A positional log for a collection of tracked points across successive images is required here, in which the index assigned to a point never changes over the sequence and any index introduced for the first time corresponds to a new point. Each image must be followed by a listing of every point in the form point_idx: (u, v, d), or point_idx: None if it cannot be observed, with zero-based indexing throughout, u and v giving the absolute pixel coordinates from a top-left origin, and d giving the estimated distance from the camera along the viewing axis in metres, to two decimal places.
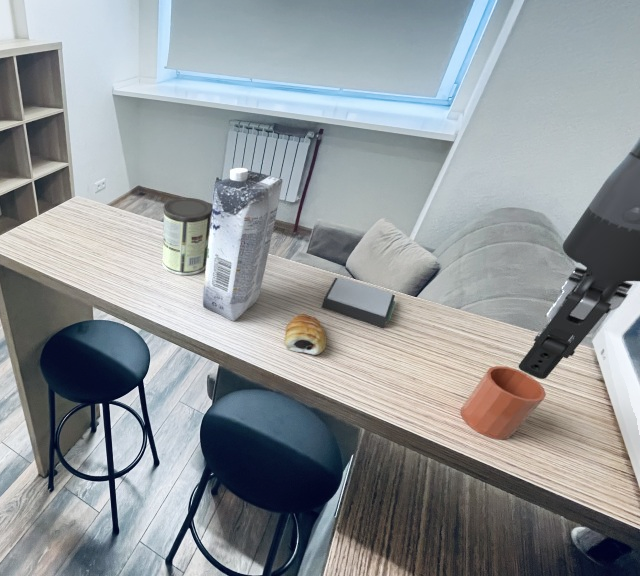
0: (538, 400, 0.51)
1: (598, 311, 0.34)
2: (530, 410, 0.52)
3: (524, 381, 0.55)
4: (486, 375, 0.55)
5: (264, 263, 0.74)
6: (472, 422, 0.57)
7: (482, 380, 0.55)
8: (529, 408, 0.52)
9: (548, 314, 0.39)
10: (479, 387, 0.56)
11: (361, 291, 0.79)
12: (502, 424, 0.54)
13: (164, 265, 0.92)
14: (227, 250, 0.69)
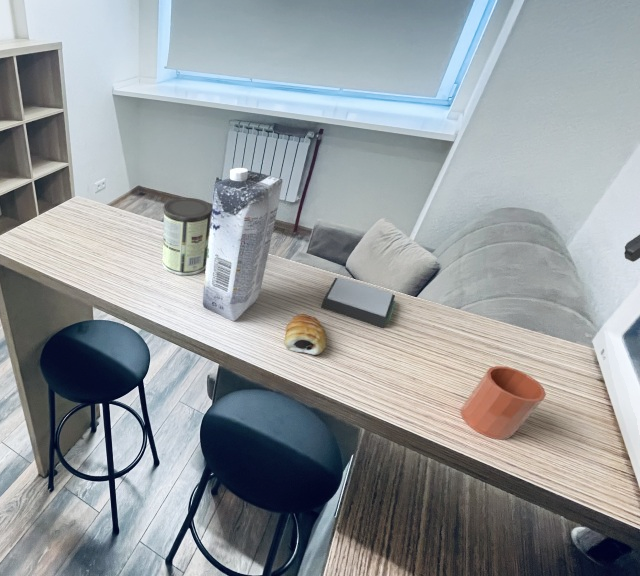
0: (538, 400, 0.51)
1: None
2: (530, 410, 0.52)
3: (524, 381, 0.55)
4: (486, 375, 0.55)
5: (264, 263, 0.74)
6: (472, 422, 0.57)
7: (482, 380, 0.55)
8: (529, 408, 0.52)
9: None
10: (479, 387, 0.56)
11: (361, 291, 0.79)
12: (502, 424, 0.54)
13: (164, 265, 0.92)
14: (227, 250, 0.69)
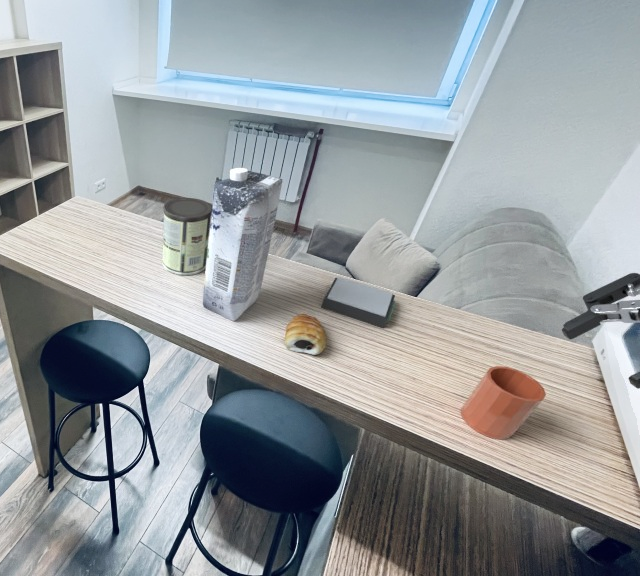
0: (538, 400, 0.51)
1: None
2: (530, 410, 0.52)
3: (524, 381, 0.55)
4: (486, 375, 0.55)
5: (264, 263, 0.74)
6: (472, 422, 0.57)
7: (482, 380, 0.55)
8: (529, 408, 0.52)
9: None
10: (479, 387, 0.56)
11: (361, 291, 0.79)
12: (502, 424, 0.54)
13: (164, 265, 0.92)
14: (227, 250, 0.69)
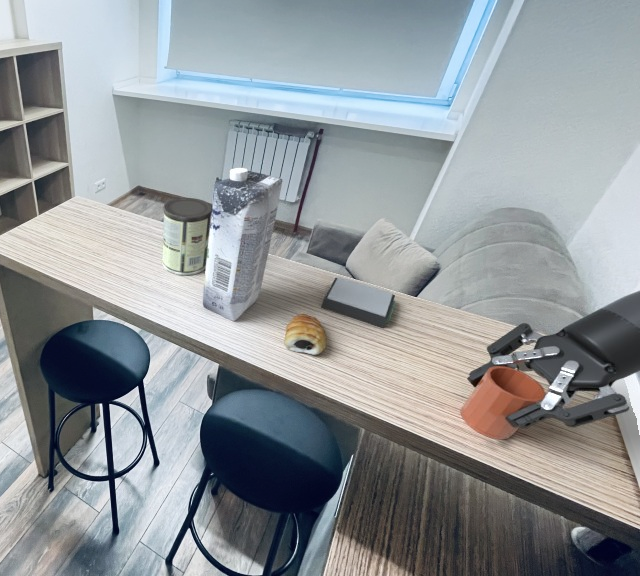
0: (538, 400, 0.51)
1: None
2: None
3: (524, 381, 0.55)
4: (486, 375, 0.55)
5: (264, 263, 0.74)
6: (472, 422, 0.57)
7: (482, 380, 0.55)
8: None
9: None
10: (479, 387, 0.56)
11: (361, 291, 0.79)
12: (502, 424, 0.54)
13: (164, 265, 0.92)
14: (227, 250, 0.69)
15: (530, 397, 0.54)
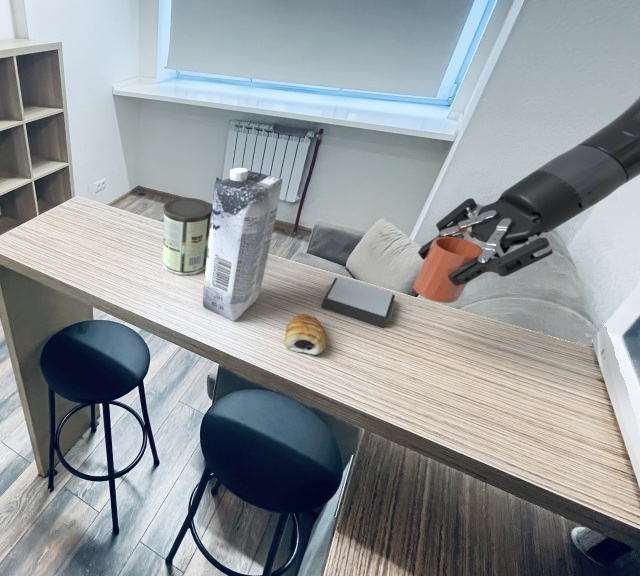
0: (476, 256, 0.56)
1: None
2: None
3: (467, 248, 0.60)
4: (432, 242, 0.60)
5: (264, 263, 0.74)
6: (421, 290, 0.62)
7: (430, 249, 0.61)
8: None
9: None
10: (427, 255, 0.61)
11: (361, 291, 0.79)
12: (446, 285, 0.59)
13: (164, 265, 0.92)
14: (227, 250, 0.69)
15: None
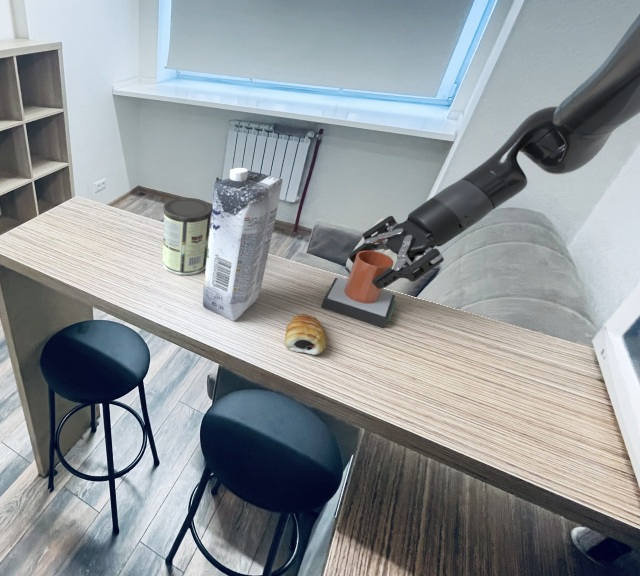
0: (386, 267, 0.72)
1: None
2: None
3: (383, 259, 0.75)
4: (356, 255, 0.75)
5: (264, 263, 0.74)
6: (349, 293, 0.77)
7: (354, 260, 0.76)
8: None
9: None
10: None
11: None
12: (366, 289, 0.75)
13: (164, 265, 0.92)
14: (227, 250, 0.69)
15: None
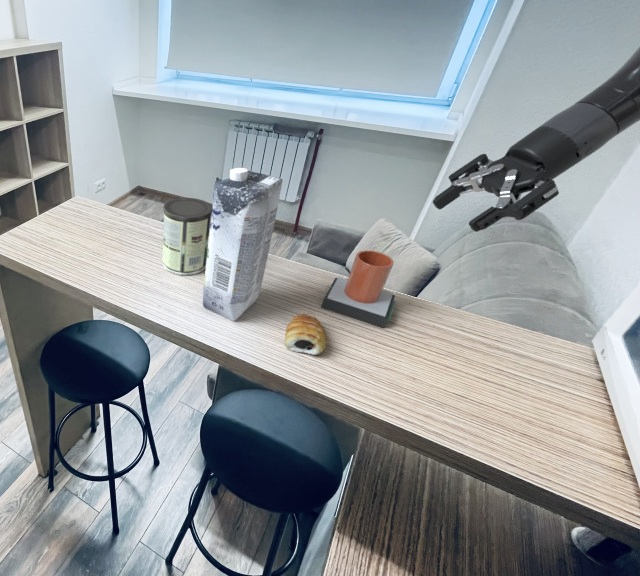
0: (386, 267, 0.72)
1: None
2: (382, 276, 0.73)
3: (383, 259, 0.75)
4: (356, 255, 0.75)
5: (264, 263, 0.74)
6: (349, 293, 0.77)
7: (354, 260, 0.76)
8: (381, 274, 0.72)
9: None
10: None
11: None
12: (366, 289, 0.75)
13: (164, 265, 0.92)
14: (227, 250, 0.69)
15: None
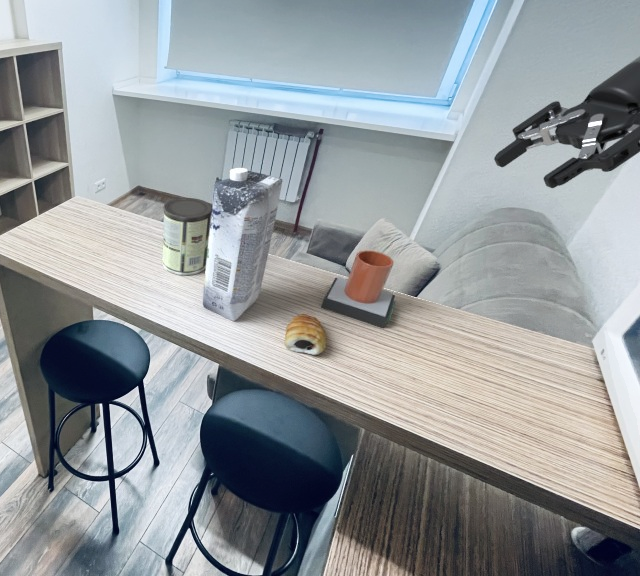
0: (386, 267, 0.72)
1: None
2: (382, 276, 0.73)
3: (383, 259, 0.75)
4: (356, 255, 0.75)
5: (264, 263, 0.74)
6: (349, 293, 0.77)
7: (354, 260, 0.76)
8: (381, 274, 0.72)
9: None
10: None
11: None
12: (366, 289, 0.75)
13: (164, 265, 0.92)
14: (227, 250, 0.69)
15: None
